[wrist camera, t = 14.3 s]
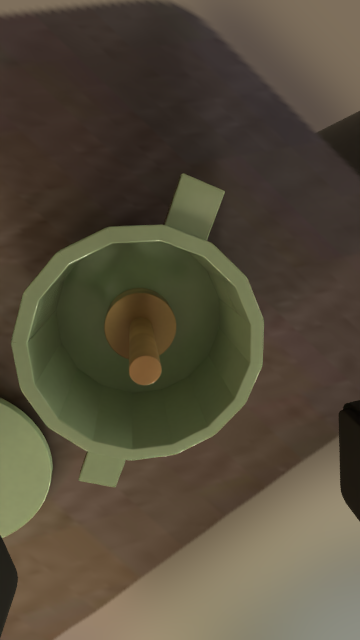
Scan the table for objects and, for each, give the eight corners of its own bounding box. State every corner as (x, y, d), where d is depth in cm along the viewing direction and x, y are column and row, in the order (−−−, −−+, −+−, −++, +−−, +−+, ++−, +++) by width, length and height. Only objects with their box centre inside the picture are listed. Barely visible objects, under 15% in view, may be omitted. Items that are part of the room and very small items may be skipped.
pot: (267, 228, 24) (323, 229, 17) (180, 439, 29) (198, 511, 21) (87, 155, 21) (66, 119, 14) (19, 403, 25) (-23, 472, 18)
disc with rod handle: (182, 299, 25) (210, 338, 16) (160, 358, 26) (175, 425, 17) (117, 278, 23) (110, 308, 15) (97, 341, 24) (80, 402, 16)
